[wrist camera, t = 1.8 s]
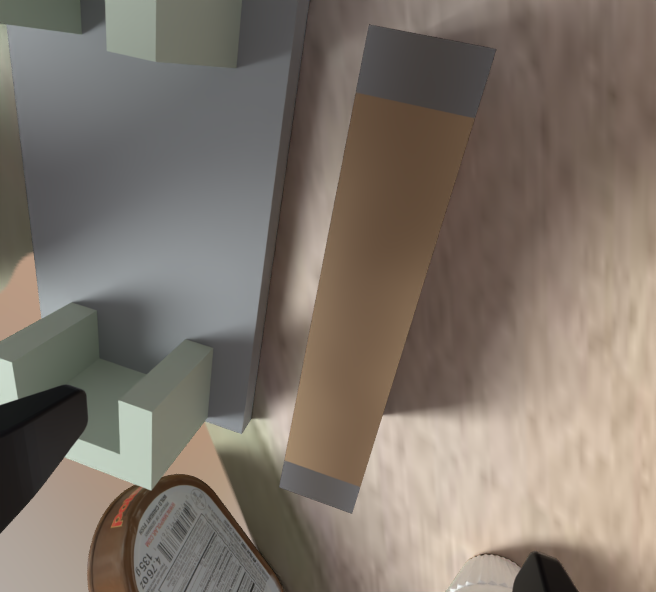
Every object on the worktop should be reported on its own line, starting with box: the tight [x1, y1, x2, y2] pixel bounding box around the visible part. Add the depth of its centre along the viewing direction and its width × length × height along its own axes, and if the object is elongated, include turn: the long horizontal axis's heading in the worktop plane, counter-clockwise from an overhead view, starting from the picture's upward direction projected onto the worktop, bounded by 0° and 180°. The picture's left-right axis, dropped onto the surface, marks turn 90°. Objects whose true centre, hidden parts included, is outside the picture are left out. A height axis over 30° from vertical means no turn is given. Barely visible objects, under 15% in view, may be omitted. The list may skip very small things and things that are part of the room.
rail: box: [279, 25, 496, 514], centre depth 17 cm, size 3×16×6 cm, turn 169°
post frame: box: [0, 0, 310, 490], centre depth 18 cm, size 12×22×6 cm, turn 169°
